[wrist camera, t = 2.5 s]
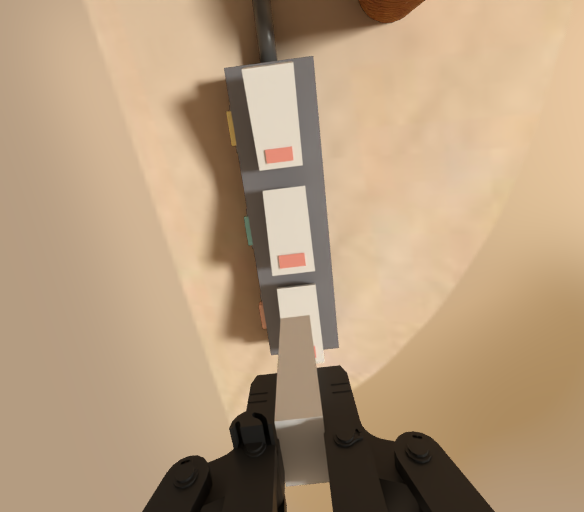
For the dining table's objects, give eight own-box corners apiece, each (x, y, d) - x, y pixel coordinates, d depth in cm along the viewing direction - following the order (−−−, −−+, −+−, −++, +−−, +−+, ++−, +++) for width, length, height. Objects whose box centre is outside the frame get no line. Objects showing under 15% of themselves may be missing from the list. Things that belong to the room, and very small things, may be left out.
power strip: (214, 7, 29) (201, -20, 24) (303, -5, 29) (306, -35, 24) (268, 339, 39) (266, 361, 35) (334, 331, 39) (340, 353, 35)
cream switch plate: (264, 195, 30) (262, 190, 28) (304, 190, 30) (305, 185, 28) (274, 275, 30) (272, 276, 28) (314, 270, 30) (315, 271, 28)
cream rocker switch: (278, 287, 33) (276, 289, 31) (314, 283, 33) (315, 284, 31) (286, 360, 33) (285, 367, 31) (323, 357, 33) (324, 363, 31)
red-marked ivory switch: (243, 67, 25) (241, 69, 23) (292, 61, 25) (293, 62, 23) (260, 164, 30) (259, 171, 28) (301, 159, 29) (302, 165, 28)
